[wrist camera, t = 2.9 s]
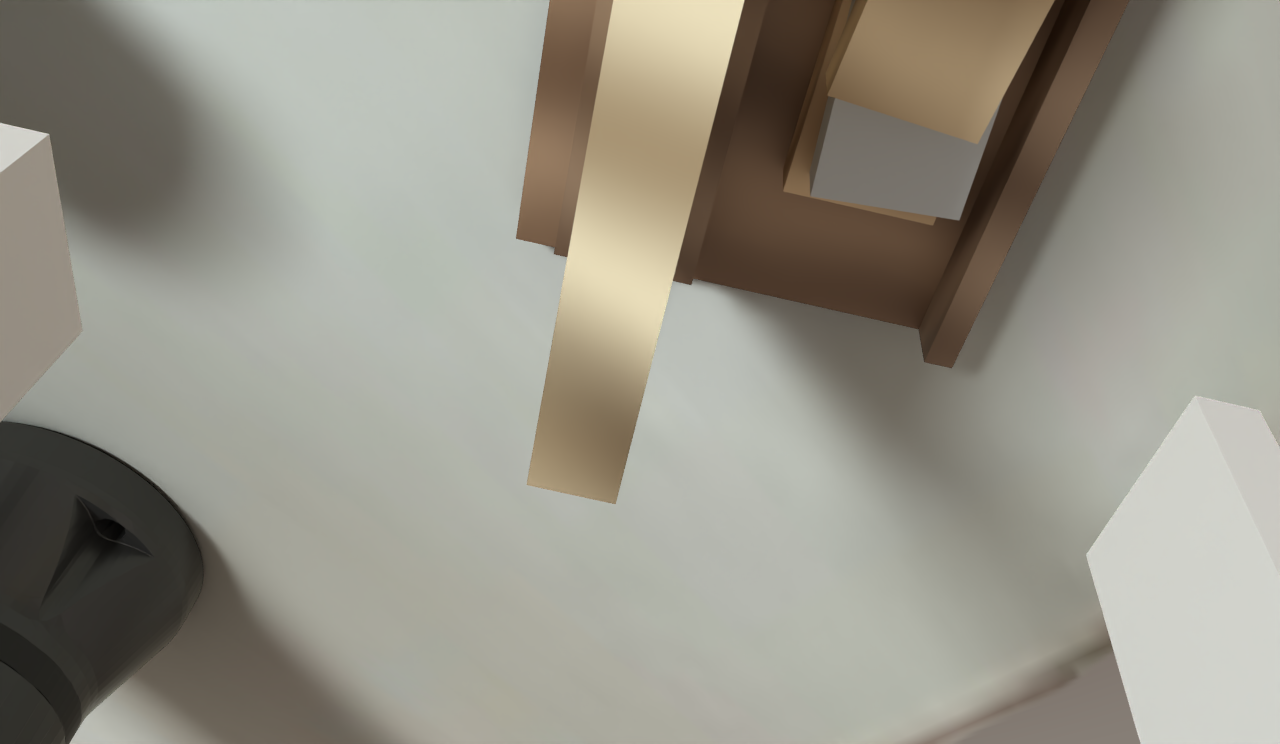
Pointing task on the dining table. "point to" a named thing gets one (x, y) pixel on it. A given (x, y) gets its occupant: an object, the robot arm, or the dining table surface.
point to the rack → (807, 227)
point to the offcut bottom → (811, 119)
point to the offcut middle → (892, 162)
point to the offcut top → (934, 59)
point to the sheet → (628, 233)
